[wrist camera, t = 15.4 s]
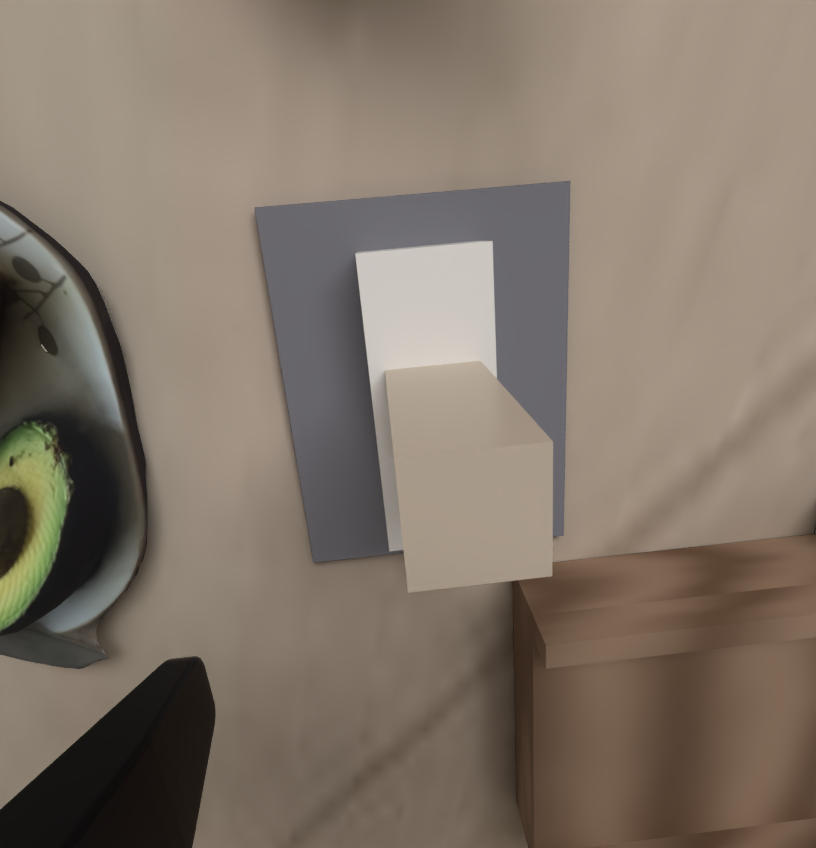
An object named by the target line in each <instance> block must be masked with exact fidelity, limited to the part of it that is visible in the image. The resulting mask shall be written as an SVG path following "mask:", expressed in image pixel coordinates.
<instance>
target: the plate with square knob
mask: <svg viewBox="0 0 816 848" xmlns="http://www.w3.org/2000/svg"><path fill="white" fill-rule="evenodd" d="M355 256H356V265H357V273H358V282H359V291H360V300H361V308H362V317H363V326H364V334H365V343H366V352H367V361H368V369H369V378H370V387H371V395H372V404H373V413H374V421H375V430H376V439H377V448H378V456H379V465H380V474H381V482H382V491H383V500H384V509H385V517H386V526H387V535H388V543H389V552H390V551H399V550H404V560H405V569H406V579H407V588H408V593H411V592H419V591H428V590H437V589H446V588H454V587H463V586H472V585H480V584H489V583H498V582H507V581H515V580H524V579H533V578H541V577H550V576H552V556H553V441H552V440H551V439H550V437H549V436H548V435H547V434H546V433H545V432H544V431H543V430H542V429H541V427H540V426H539V425H538V424H537V423H536V422H535V421H534V420H533V419H532V417H531V416H530V415H529V414H528V413H527V412H526V411H525V410H524V409H523V407H522V406H521V405H520V404H519V403H518V402H517V401H516V400H515V398H514V397H513V396H512V395H511V394H510V393H509V392H508V391H507V390H506V388H505V387H504V386H503V385H502V384H501V383H500V382H499V381H498V380H497V365H496V333H495V301H494V270H493V241H471V242H460V243H449V244H439V245H428V246H417V247H406V248H396V249H385V250H374V251H364V252H357V253H355Z"/></svg>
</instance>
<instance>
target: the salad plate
mask: <svg viewBox="0 0 816 848" xmlns="http://www.w3.org/2000/svg"><path fill="white" fill-rule="evenodd" d="M41 344H42V345H43V346H44V347H45V349H46V350H47V351H48V352H45V351H44V350H43V348H42V347H41ZM145 466H146V463H145V457H144V452H143V448H142V444H141V440H140V435H139V431H138V427H137V422H136V416H135V411H134V405H133V400H132V394H131V389H130V384H129V380H128V375H127V371H126V366H125V362H124V358H123V354H122V351H121V347H120V343H119V340H118V338H117V335H116V333H115V331H114V328H113V325H112V323H111V320H110V317H109V315H108V312H107V309H106V306H105V304H104V301H103V299H102V297H101V295H100V292H99V290H98V288H97V286H96V284H95V282H94V280H93V279H92V277H91V275H90V274H89V272H88V271H87V270H86V269H85V268H84V267H83V266H82V265H81V264H80V263H79V262H78V261H77V260H76V259H75V258H74V257H73V256H72V255H71V254H70V253H69V252H68V251H67V250H66V249H65V248H64V247H62V246H61V245H60V244H59V243H58V242H57V241H56V240H55V239H53V238H52V237H51V236H50V235H48V234H47V233H46V232H44V231H43V230H42V229H40V228H39V227H38V226H36V225H35V224H34V223H32V222H31V221H30V220H29V219H27V218H26V217H25V216H23V215H22V214H21V213H19V212H18V211H17V210H15V209H14V208H13V207H11V206H9V205H7V204H5V203H3V202H2V201H0V655H5V656H8V657H13V658H16V659H21V660H25V661H30V662H35V663H41V664H46V665H51V666H57V667H64V668H76V669H81V668H84V667H86V666H89V665H90V664H92V663H93V662H96V661H100V660H103V659H105V658H108V657H107V656H106V653H105V652H104V650H103V649H102V647H101V645H100V643H99V642H98V640H97V633H96V631H97V628H98V625H99V622H100V620H101V619H102V617H103V616H104V614H105V613H106V612H107V610H108V609H109V608H110V607H111V606H113V605H114V603H115V602H116V601H117V600H118V598H119V597H120V596H121V595H122V594H123V593H124V592H125V591H126V590H127V589H128V587H129V586H130V584H131V581H132V580H133V579H134V578H135V576H136V575H137V572H138V569H139V565H140V563H141V562H142V560H143V558H144V554H145V549H146V544H147V491H146V477H145Z"/></svg>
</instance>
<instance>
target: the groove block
mask: <svg viewBox="0 0 816 848" xmlns="http://www.w3.org/2000/svg"><path fill="white" fill-rule="evenodd" d="M513 635H514V689H515V743H516V797H517V806H518V810H519V814H520V817H521V821H522V825H523V829H524V833H525V837H526V841H527V845H528V848H816V534H808V535H799V536H790V537H781V538H772V539H763V540H754V541H745V542H735V543H726V544H717V545H708V546H699V547H690V548H681V549H672V550H662V551H653V552H644V553H635V554H626V555H617V556H608V557H598V558H589V559H580V560H571V561H562V562H553V563H552V576H550V577H541V578H533V579H524V580H515V581H513Z"/></svg>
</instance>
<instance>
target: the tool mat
mask: <svg viewBox="0 0 816 848" xmlns="http://www.w3.org/2000/svg"><path fill="white" fill-rule="evenodd" d="M255 213H256V219H257V225H258V231H259V237H260V243H261V249H262V255H263V261H264V267H265V273H266V279H267V285H268V291H269V297H270V303H271V309H272V315H273V321H274V327H275V333H276V339H277V345H278V351H279V357H280V363H281V369H282V375H283V381H284V387H285V393H286V399H287V405H288V411H289V417H290V423H291V429H292V435H293V441H294V447H295V454H296V460H297V466H298V472H299V478H300V484H301V490H302V496H303V502H304V508H305V514H306V520H307V526H308V532H309V538H310V544H311V550H312V556H313V562H324V561H333V560H342V559H351V558H361V557H370V556H379V555H388V554H398V553H404V550H399V551H390V552H389V543H388V535H387V526H386V517H385V509H384V500H383V491H382V482H381V474H380V465H379V456H378V448H377V439H376V430H375V421H374V413H373V404H372V395H371V387H370V378H369V369H368V361H367V352H366V343H365V334H364V326H363V317H362V308H361V300H360V291H359V282H358V273H357V265H356V256H355V253H357V252H364V251H374V250H385V249H396V248H406V247H417V246H428V245H439V244H449V243H460V242H471V241H493V270H494V301H495V333H496V365H497V380H498V381H499V382H500V383H501V384H502V385H503V386H504V387H505V388H506V390H507V391H508V392H509V393H510V394H511V395H512V396H513V397H514V398H515V400H516V401H517V402H518V403H519V404H520V405H521V406H522V407H523V409H524V410H525V411H526V412H527V413H528V414H529V415H530V416H531V417H532V419H533V420H534V421H535V422H536V423H537V424H538V425H539V426H540V427H541V429H542V430H543V431H544V432H545V433H546V434H547V435H548V436H549V437H550V439H551V440H552V441H553V537H555V536H563V535H564V483H565V431H566V379H567V327H568V275H569V224H570V181H563V182H552V183H540V184H528V185H516V186H504V187H492V188H480V189H469V190H457V191H445V192H433V193H421V194H409V195H398V196H386V197H374V198H362V199H350V200H338V201H326V202H315V203H303V204H291V205H279V206H267V207H255Z"/></svg>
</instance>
